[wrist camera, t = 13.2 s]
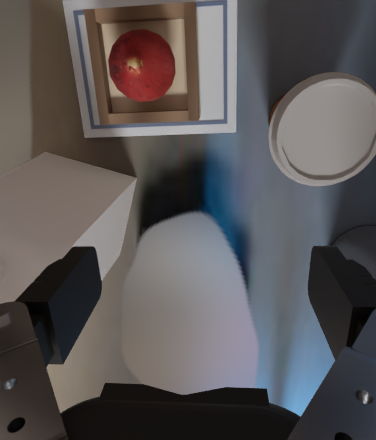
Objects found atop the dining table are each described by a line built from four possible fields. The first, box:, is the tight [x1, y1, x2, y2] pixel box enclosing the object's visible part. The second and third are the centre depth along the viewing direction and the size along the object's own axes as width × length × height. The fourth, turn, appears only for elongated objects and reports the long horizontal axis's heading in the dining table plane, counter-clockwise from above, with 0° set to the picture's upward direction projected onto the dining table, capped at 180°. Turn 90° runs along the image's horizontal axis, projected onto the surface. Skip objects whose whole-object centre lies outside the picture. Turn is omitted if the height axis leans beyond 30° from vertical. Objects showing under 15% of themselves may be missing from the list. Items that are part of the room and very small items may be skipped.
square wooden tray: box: [84, 2, 201, 125], centre depth 34 cm, size 10×10×6 cm
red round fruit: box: [108, 29, 176, 102], centre depth 29 cm, size 6×6×8 cm
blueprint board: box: [63, 0, 237, 138], centre depth 37 cm, size 18×14×1 cm
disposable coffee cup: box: [268, 72, 376, 186], centre depth 33 cm, size 10×10×12 cm
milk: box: [0, 152, 137, 304], centre depth 32 cm, size 12×12×26 cm
